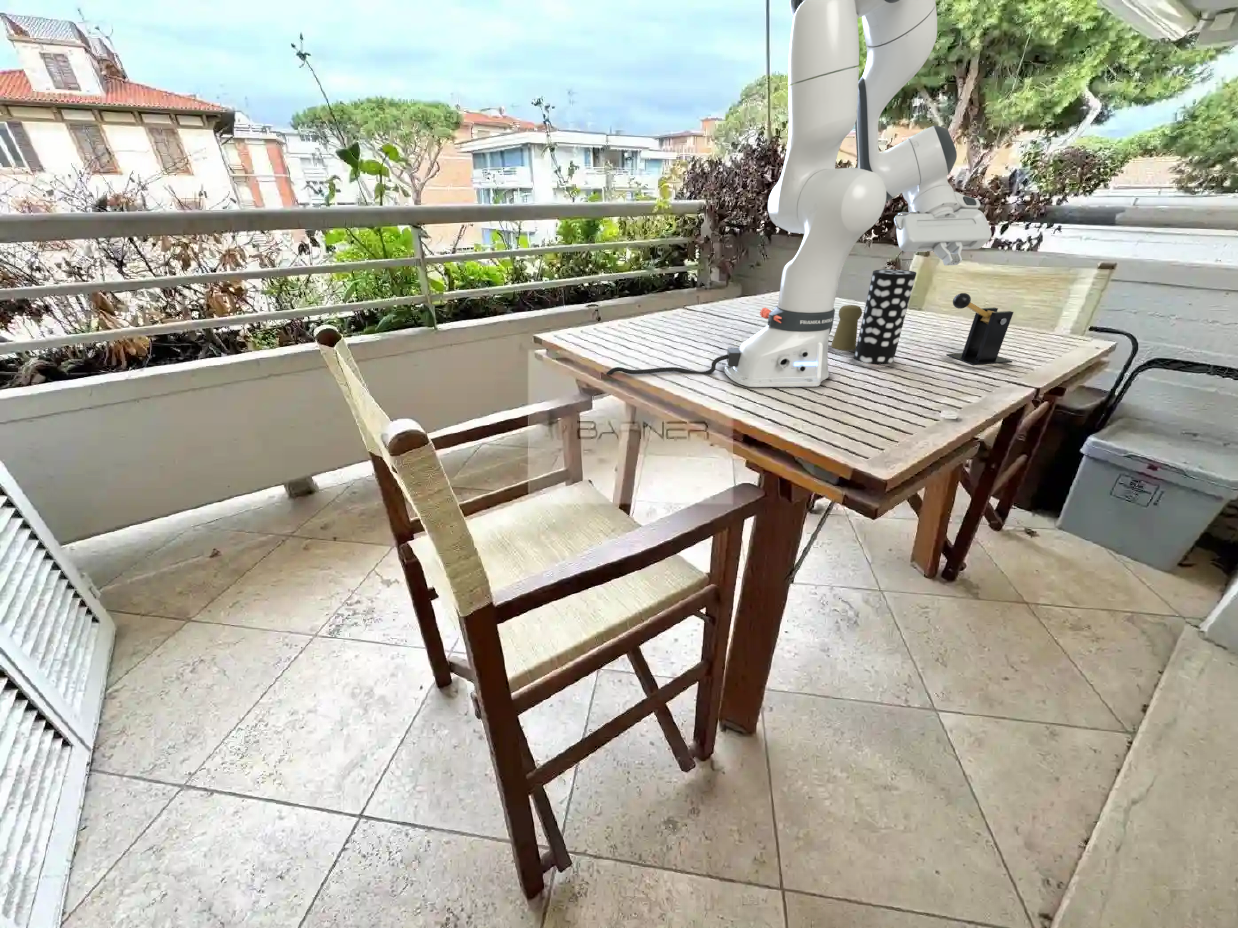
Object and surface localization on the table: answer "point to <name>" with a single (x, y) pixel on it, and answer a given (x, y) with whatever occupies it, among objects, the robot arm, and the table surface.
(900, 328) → the white-spotted black cylinder
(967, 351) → the bracket
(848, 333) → the cork
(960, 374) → the table surface
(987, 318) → the latch lever
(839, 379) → the table surface
